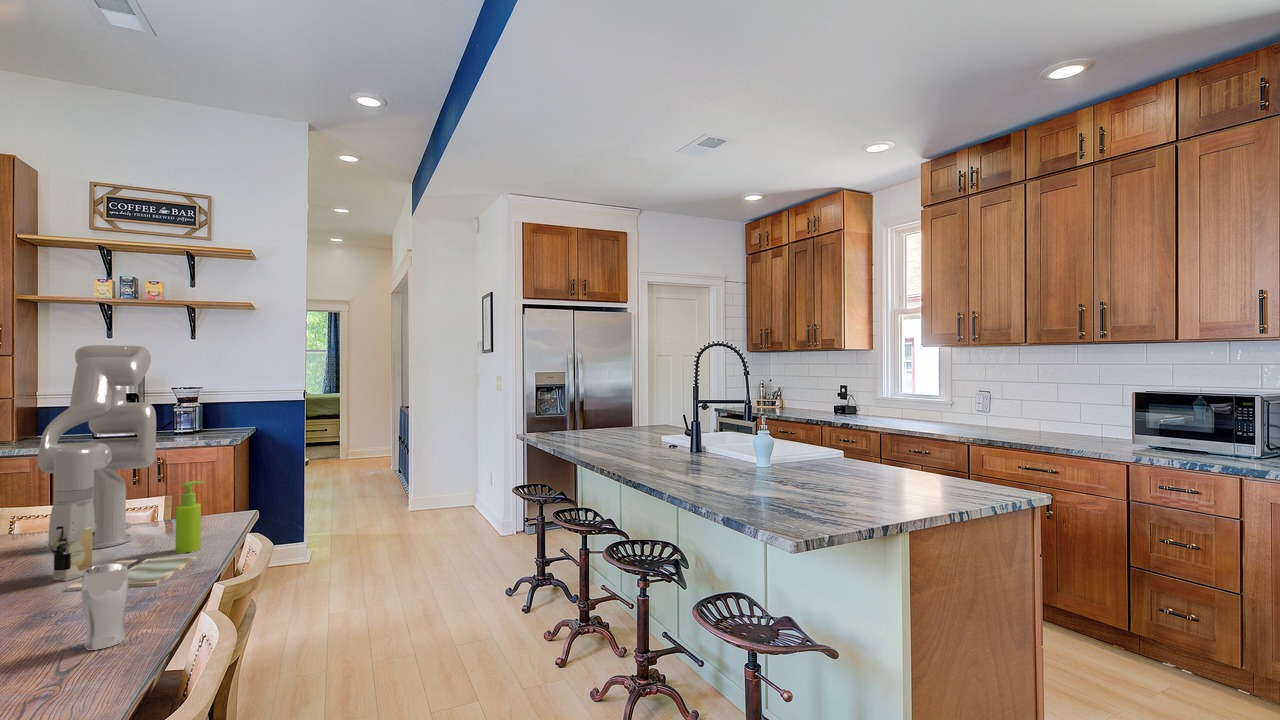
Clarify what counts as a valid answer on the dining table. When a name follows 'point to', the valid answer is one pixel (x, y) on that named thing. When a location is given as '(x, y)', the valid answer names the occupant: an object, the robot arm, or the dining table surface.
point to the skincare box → (77, 557)
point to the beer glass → (104, 604)
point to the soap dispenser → (188, 521)
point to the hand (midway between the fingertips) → (73, 564)
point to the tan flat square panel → (148, 571)
